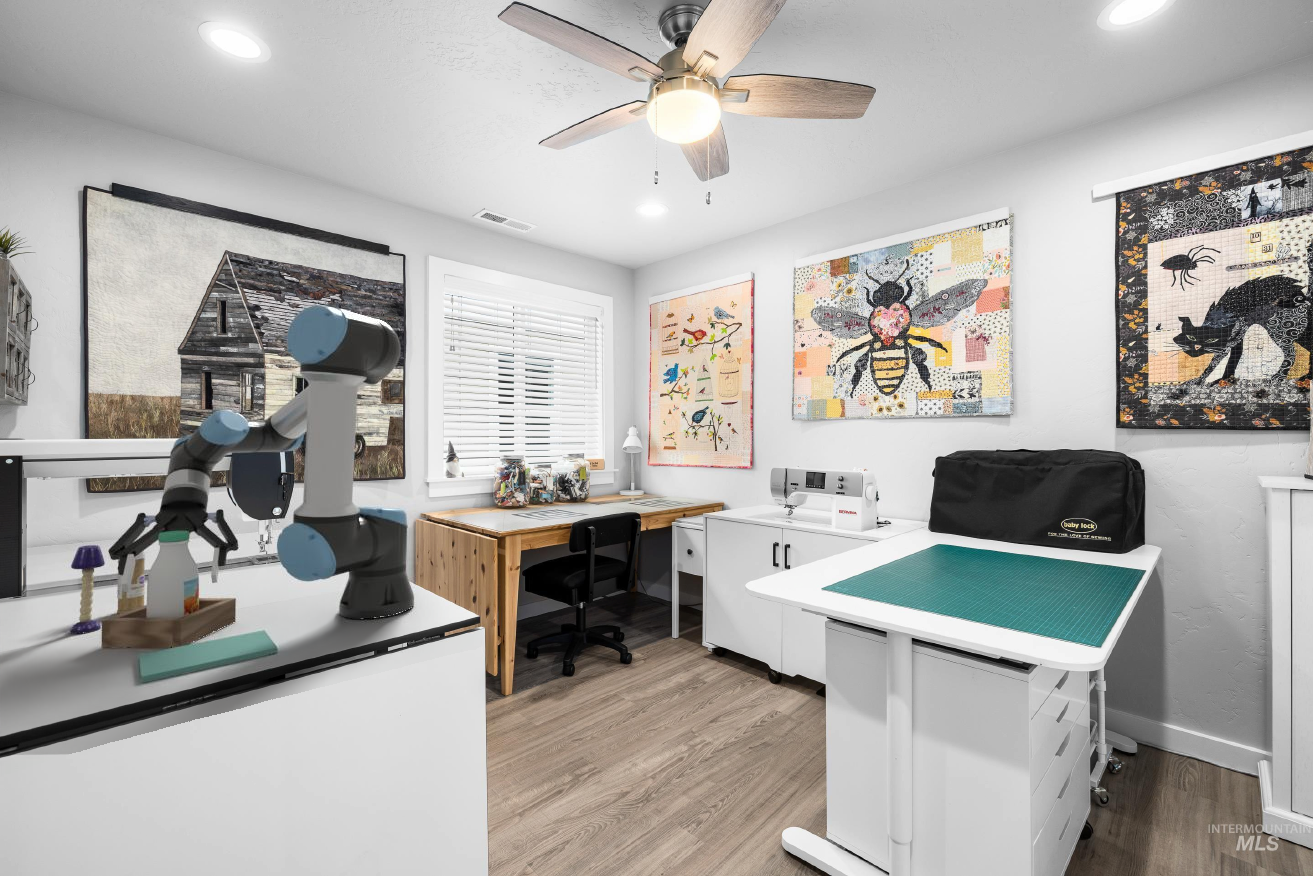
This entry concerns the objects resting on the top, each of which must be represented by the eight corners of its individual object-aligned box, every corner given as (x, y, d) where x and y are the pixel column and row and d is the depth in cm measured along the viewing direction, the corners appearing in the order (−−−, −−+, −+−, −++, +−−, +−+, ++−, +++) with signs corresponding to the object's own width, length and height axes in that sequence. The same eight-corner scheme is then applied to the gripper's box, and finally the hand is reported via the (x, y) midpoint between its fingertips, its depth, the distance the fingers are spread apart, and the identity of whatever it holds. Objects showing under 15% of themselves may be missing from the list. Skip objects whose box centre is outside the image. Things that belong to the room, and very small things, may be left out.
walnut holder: (235, 622, 116) (235, 598, 116) (181, 647, 102) (181, 620, 102) (165, 622, 115) (166, 598, 115) (101, 647, 101) (101, 620, 101)
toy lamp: (107, 625, 113) (108, 543, 113) (98, 632, 109) (99, 547, 109) (75, 628, 111) (76, 545, 111) (64, 636, 107) (65, 549, 107)
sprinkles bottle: (140, 613, 121) (140, 551, 121) (112, 615, 119) (113, 552, 119) (148, 607, 125) (149, 547, 125) (122, 609, 123) (122, 548, 123)
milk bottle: (167, 643, 104) (169, 536, 104) (135, 639, 106) (136, 534, 106) (208, 629, 112) (209, 529, 112) (177, 626, 113) (178, 527, 113)
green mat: (264, 635, 109) (264, 630, 109) (277, 653, 100) (277, 647, 100) (138, 660, 96) (138, 654, 96) (141, 682, 88) (141, 676, 88)
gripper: (256, 504, 128) (250, 585, 115) (111, 510, 115) (86, 603, 102) (255, 482, 124) (249, 565, 111) (103, 486, 111) (76, 580, 98)
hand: (171, 583), depth 107 cm, fingers open, 12 cm apart
